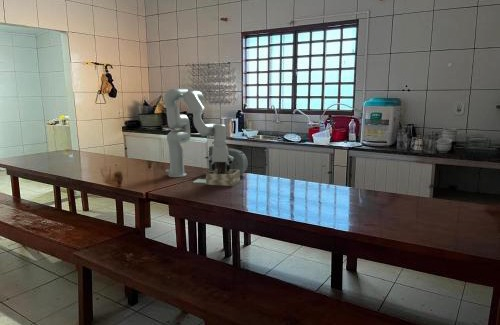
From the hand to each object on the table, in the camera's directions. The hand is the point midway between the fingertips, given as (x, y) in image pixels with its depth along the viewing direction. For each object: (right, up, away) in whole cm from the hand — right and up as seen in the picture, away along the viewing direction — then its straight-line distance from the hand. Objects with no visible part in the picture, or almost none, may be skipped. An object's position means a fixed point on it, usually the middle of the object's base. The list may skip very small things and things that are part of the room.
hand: (221, 170), depth 231 cm
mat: (-13, -7, +5) cm, 16 cm away
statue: (0, -8, +2) cm, 8 cm away
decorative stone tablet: (+3, -4, +24) cm, 24 cm away
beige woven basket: (+2, -8, +1) cm, 8 cm away
